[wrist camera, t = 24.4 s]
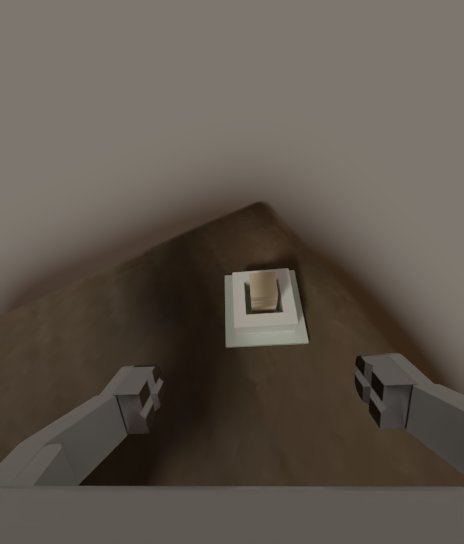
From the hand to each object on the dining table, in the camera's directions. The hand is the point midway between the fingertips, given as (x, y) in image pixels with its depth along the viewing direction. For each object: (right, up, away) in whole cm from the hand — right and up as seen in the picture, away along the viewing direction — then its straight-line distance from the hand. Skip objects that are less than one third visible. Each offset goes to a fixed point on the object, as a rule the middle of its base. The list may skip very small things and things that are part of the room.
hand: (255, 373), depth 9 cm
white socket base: (+5, -3, +32) cm, 32 cm away
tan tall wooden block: (+5, -2, +31) cm, 31 cm away
